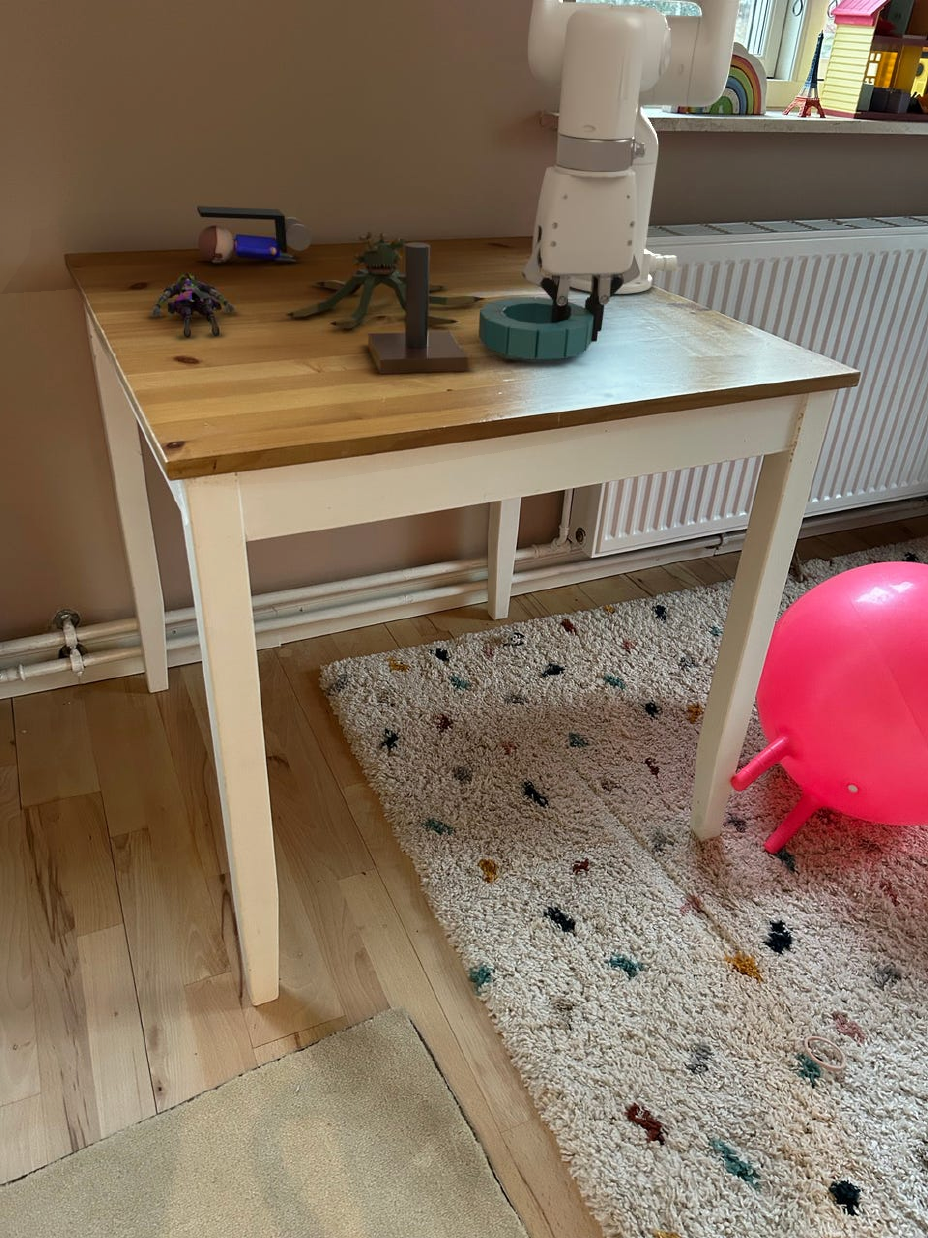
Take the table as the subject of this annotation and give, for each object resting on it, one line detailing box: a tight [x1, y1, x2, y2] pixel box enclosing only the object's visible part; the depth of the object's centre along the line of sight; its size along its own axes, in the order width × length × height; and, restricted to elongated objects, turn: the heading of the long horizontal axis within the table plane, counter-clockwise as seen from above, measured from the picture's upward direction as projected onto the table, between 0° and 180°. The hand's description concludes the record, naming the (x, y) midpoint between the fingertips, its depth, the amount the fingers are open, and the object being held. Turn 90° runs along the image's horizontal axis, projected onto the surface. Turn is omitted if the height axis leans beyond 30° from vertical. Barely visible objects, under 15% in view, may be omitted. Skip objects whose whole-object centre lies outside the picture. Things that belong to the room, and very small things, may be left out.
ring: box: [478, 296, 594, 360], centre depth 103 cm, size 12×12×3 cm
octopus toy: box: [285, 231, 487, 330], centre depth 115 cm, size 25×20×9 cm
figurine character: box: [196, 205, 312, 264], centre depth 133 cm, size 7×8×15 cm
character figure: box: [151, 272, 236, 338], centre depth 110 cm, size 9×4×16 cm
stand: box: [367, 241, 469, 375], centre depth 98 cm, size 9×9×12 cm
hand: (575, 336), depth 105 cm, fingers closed on ring, 2 cm apart
